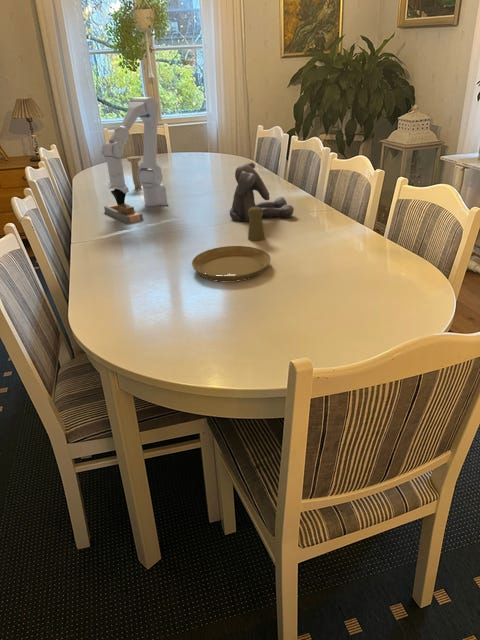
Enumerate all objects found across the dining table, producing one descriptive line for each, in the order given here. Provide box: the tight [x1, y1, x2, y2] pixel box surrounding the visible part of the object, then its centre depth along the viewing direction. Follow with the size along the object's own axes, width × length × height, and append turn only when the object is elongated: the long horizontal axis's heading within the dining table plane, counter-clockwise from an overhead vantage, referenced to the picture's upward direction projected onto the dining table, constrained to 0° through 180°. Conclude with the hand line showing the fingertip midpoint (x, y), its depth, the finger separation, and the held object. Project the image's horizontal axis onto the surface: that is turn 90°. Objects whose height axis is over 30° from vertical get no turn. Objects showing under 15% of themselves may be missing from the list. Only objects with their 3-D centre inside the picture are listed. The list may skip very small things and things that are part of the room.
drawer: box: [118, 202, 135, 215], centre depth 209 cm, size 3×8×5 cm, turn 36°
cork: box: [247, 207, 266, 242], centre depth 181 cm, size 6×6×11 cm
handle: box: [127, 155, 142, 190], centre depth 255 cm, size 5×6×15 cm
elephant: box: [229, 161, 294, 223], centre depth 203 cm, size 21×25×21 cm
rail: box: [103, 203, 145, 225], centre depth 212 cm, size 8×22×4 cm, turn 36°
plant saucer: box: [191, 245, 272, 282], centre depth 159 cm, size 24×24×3 cm
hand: (121, 207), depth 212 cm, fingers closed
